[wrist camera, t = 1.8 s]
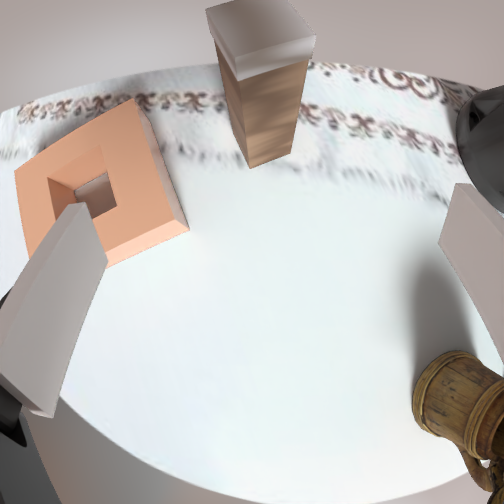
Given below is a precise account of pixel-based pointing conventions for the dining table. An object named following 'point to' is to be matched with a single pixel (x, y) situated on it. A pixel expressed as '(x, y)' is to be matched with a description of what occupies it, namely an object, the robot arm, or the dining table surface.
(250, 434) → the dining table surface
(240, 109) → the silver-capped wooden peg
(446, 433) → the wooden mug
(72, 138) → the terracotta holder
